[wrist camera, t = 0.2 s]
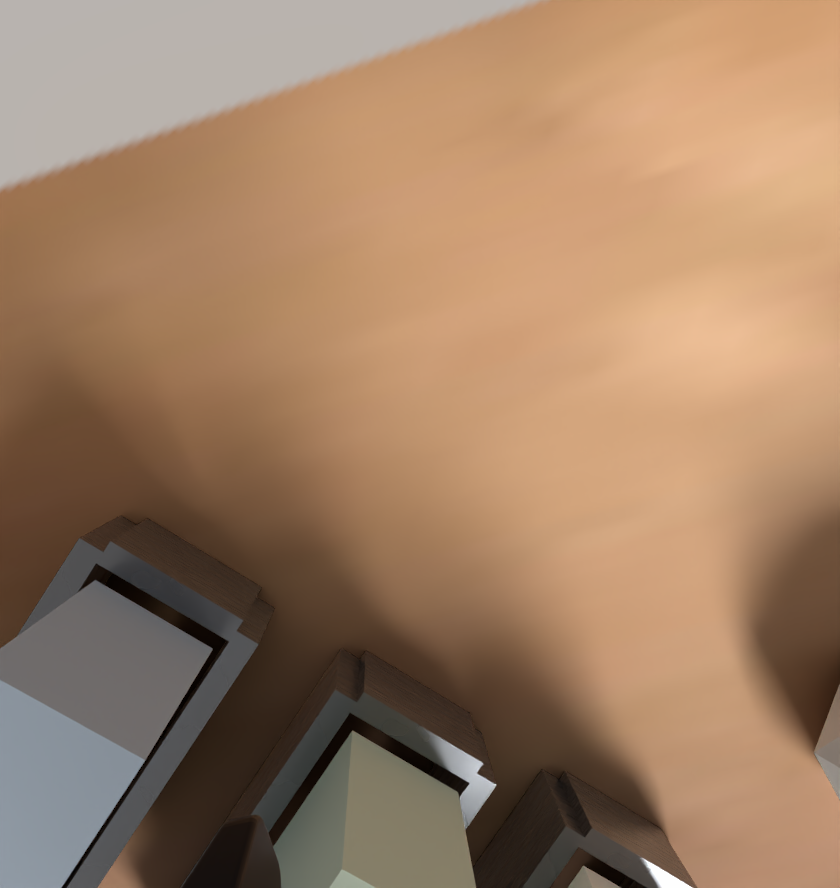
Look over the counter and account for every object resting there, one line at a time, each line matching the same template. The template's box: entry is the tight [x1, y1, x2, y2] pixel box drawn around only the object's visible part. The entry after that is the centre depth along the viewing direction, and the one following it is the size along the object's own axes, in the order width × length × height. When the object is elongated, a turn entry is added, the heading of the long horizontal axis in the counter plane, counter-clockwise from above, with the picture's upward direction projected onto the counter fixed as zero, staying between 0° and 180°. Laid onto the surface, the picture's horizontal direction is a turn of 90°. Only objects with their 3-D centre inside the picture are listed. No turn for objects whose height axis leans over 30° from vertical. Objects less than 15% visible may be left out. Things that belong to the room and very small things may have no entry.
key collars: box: [17, 516, 697, 888], centre depth 22 cm, size 13×24×3 cm, turn 56°
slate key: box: [0, 580, 213, 888], centre depth 16 cm, size 11×4×6 cm, turn 146°
